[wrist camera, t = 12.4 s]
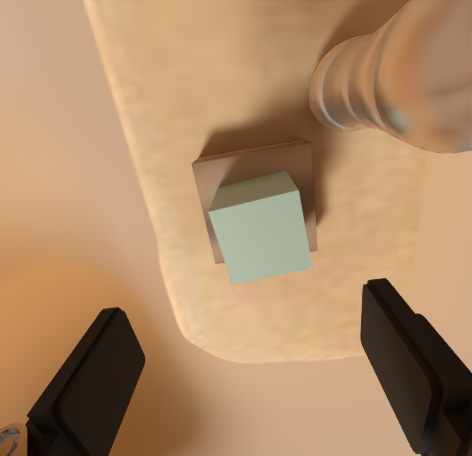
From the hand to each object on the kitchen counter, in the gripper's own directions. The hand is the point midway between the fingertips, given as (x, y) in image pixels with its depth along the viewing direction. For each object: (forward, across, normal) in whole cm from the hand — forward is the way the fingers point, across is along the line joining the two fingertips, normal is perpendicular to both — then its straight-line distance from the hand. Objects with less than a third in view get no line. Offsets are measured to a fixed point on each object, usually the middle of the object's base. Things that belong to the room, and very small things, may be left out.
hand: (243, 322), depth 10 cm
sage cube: (+14, -1, +1) cm, 14 cm away
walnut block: (+18, -1, +1) cm, 18 cm away
